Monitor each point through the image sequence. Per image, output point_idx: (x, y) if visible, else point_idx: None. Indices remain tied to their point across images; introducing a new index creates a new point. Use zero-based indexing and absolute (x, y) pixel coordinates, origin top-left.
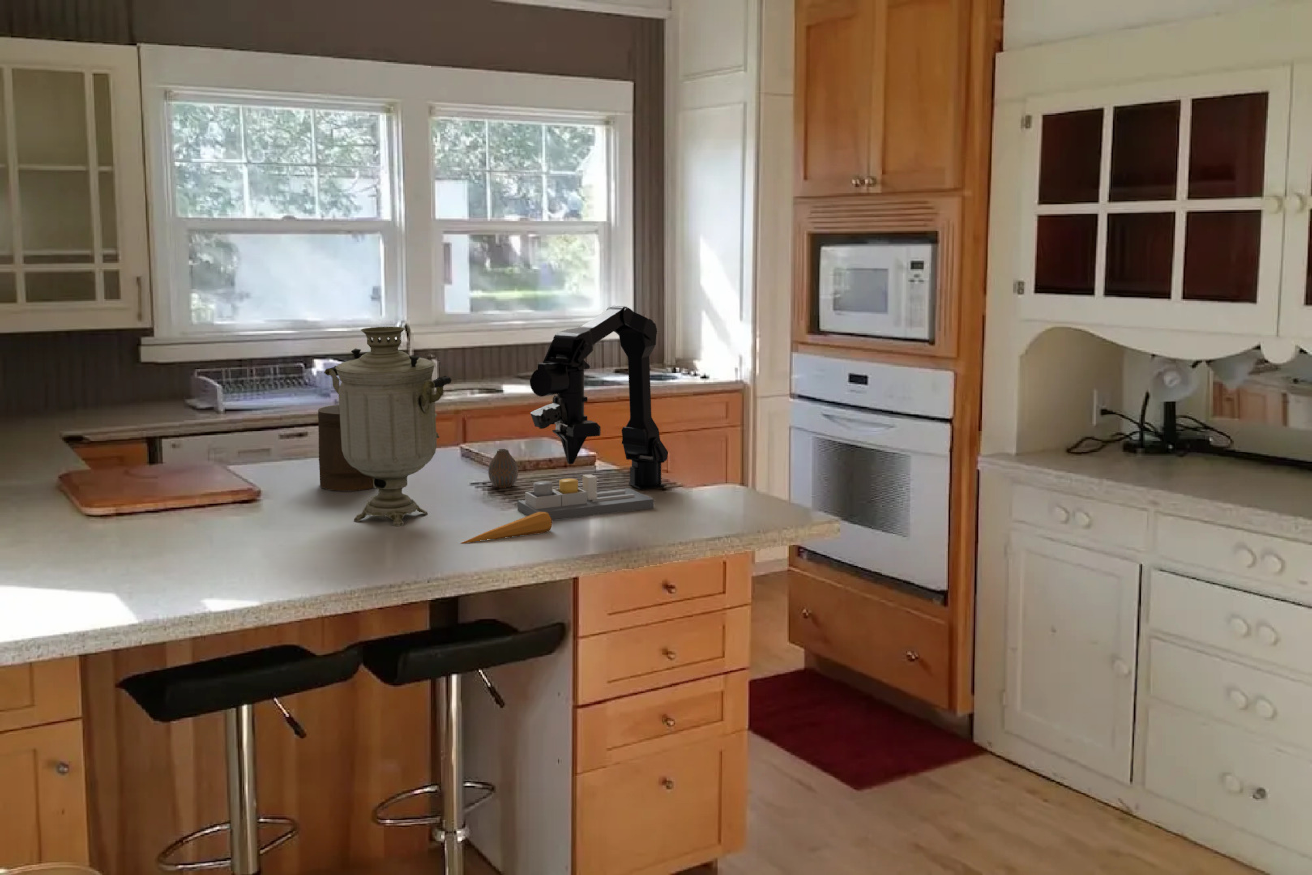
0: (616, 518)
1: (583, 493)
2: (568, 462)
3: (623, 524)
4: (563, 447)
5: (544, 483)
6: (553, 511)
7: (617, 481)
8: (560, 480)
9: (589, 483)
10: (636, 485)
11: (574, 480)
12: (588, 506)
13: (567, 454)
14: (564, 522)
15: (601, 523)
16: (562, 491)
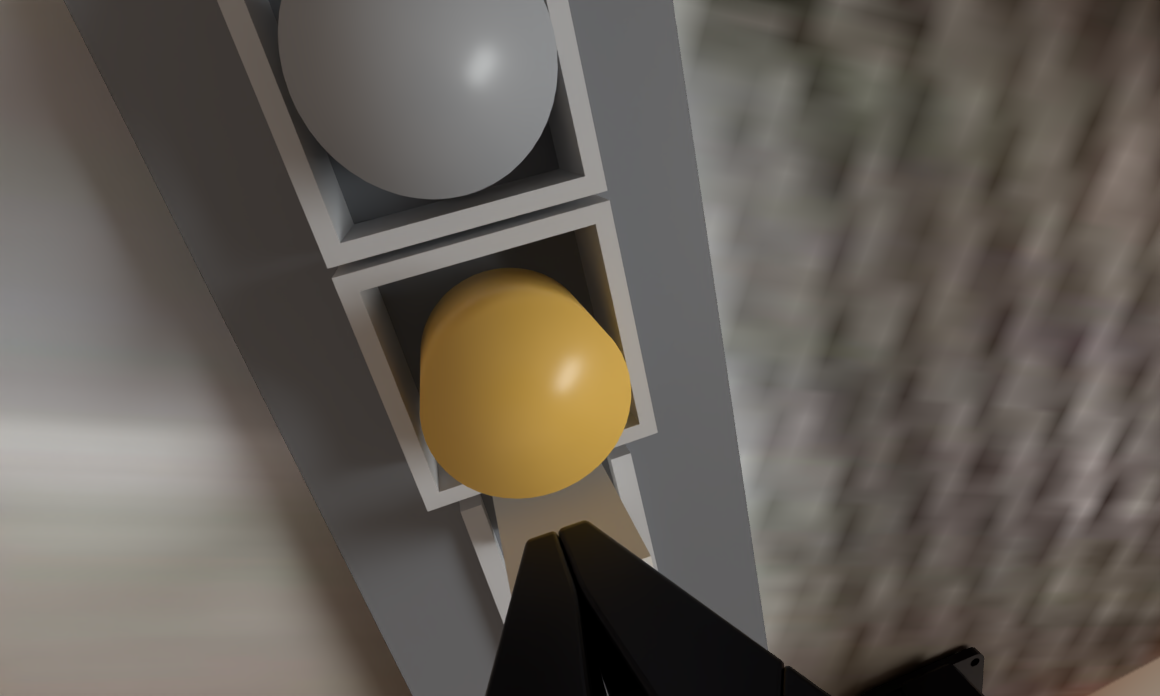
0: (219, 594)
1: (415, 479)
2: (537, 545)
3: (20, 635)
4: (777, 686)
5: (408, 83)
6: (140, 143)
7: (1051, 598)
8: (555, 317)
9: (509, 573)
10: (901, 689)
11: (519, 464)
12: (308, 464)
13: (537, 654)
14: (86, 226)
15: (51, 501)
16: (454, 300)
